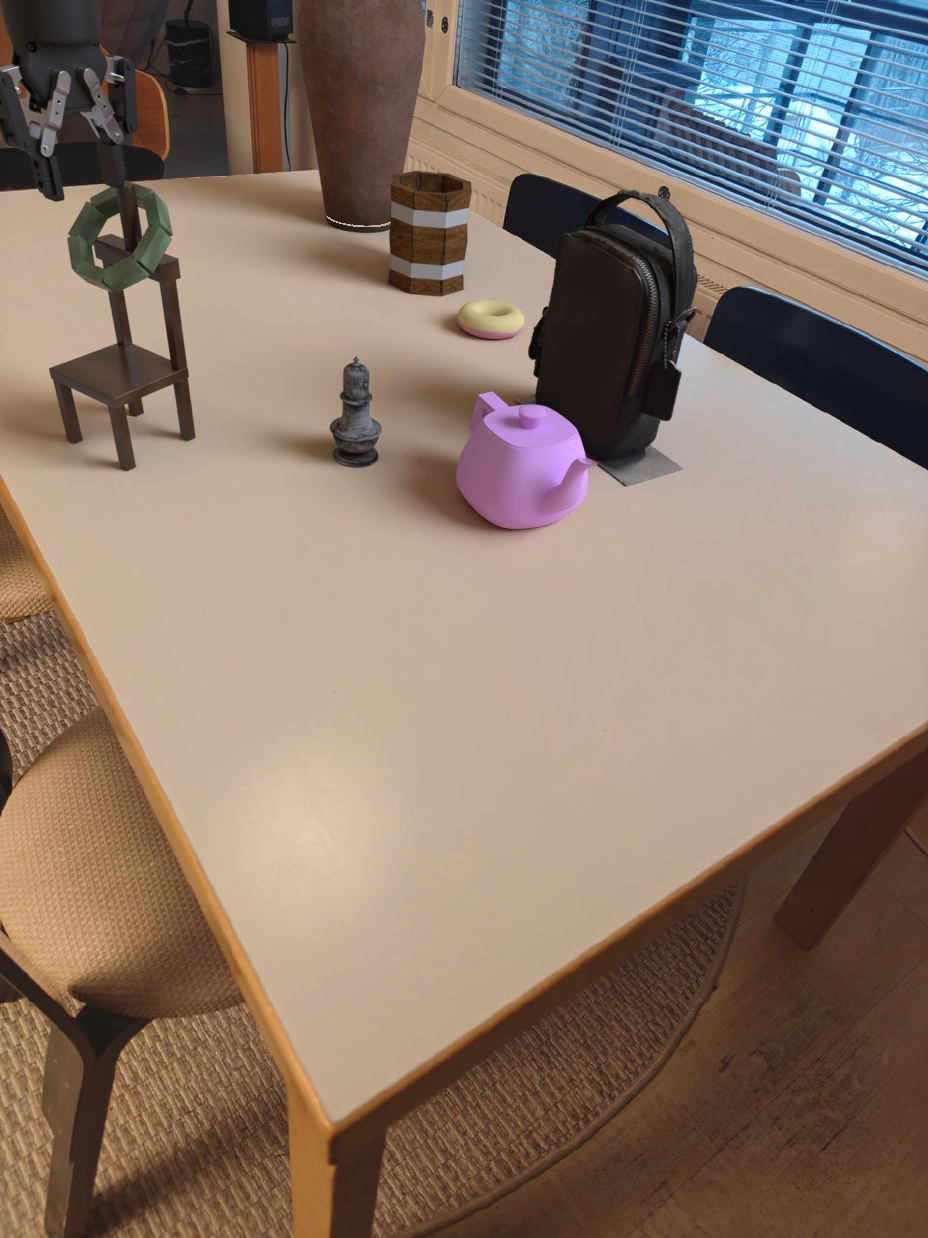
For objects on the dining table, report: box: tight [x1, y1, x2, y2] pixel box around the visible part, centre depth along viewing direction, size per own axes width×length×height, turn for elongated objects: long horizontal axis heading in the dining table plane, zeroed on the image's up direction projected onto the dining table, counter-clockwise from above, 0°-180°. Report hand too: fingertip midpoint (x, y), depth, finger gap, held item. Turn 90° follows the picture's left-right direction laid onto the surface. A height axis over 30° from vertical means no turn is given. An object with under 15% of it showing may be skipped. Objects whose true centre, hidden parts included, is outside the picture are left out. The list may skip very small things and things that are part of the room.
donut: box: [456, 299, 525, 340], centre depth 129 cm, size 10×5×9 cm
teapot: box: [455, 391, 598, 530], centre depth 91 cm, size 13×20×11 cm
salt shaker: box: [329, 355, 383, 468], centre depth 95 cm, size 6×6×12 cm
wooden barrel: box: [387, 170, 473, 297], centre depth 140 cm, size 20×14×15 cm
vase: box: [296, 0, 427, 234], centre depth 150 cm, size 21×26×45 cm
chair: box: [48, 181, 196, 472], centre depth 89 cm, size 11×10×26 cm
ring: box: [66, 180, 174, 293], centre depth 86 cm, size 11×11×2 cm
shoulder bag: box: [514, 188, 699, 487], centre depth 99 cm, size 23×9×28 cm, turn 33°
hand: (84, 191), depth 80 cm, fingers open, 6 cm apart
